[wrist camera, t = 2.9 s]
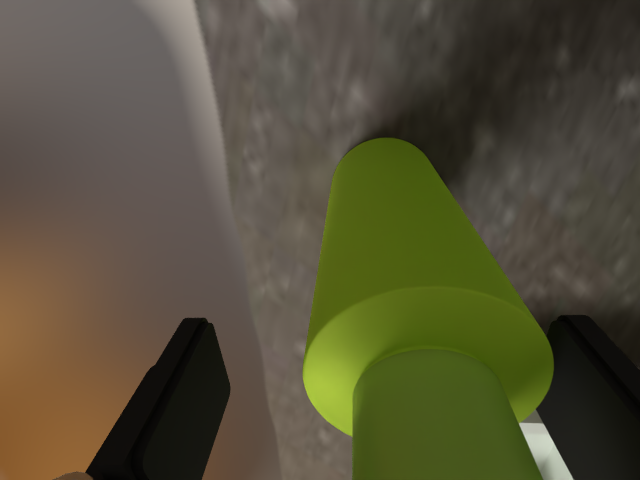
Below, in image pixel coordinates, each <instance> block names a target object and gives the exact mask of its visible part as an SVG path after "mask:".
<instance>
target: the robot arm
mask: <svg viewBox="0 0 640 480" xmlns="http://www.w3.org/2000/svg"><path fill="white" fill-rule="evenodd" d="M546 337H547V339H548V341H549V344H550V346H551V349H552V353H553V359H554V372H553V378H552V382H551V385H550V387H549V390H548V392H547V394H546V395H545V397H544V399H543V400H542V402H541V403H540V404H539V406H538V407H537V408H536V411H537V413H538V415H539V416H540V418H541V420H542V422H543V424H544V426H545V428H546V429H547V431H548V433H549V435H550V437H551V439H552V441H553V442H554V444H555V446H556V448H557V450H558V452H559V454H560V455H561V457H562V459H563V461H564V463H565V465H566V467H567V468H568V470H569V472H570V474H571V476H572V478H573V480H640V370H639V369H638V368H637V367H636V366H635V365H634V364H633V363H632V362H631V361H630V360H629V359H628V358H627V357H626V355H625V354H624V353H623V352H622V351H621V350H620V349H619V348H618V347H617V346H616V345H615V344H614V343H613V342H612V340H611V339H610V338H609V337H608V336H607V335H606V334H605V333H604V332H603V331H602V330H601V329H600V328H599V326H598V325H597V324H596V323H595V322H594V321H593V320H592V319H591V318H590V317H588V316H586V315H561V316H559V317H558V318H557V320H556V321H553V322H552V323H551V325H550V328H549V331H548V334H547V336H546ZM229 395H230V383H229V379H228V376H227V372H226V368H225V365H224V361H223V358H222V354H221V351H220V347H219V344H218V340H217V336H216V333H215V329H214V326H213V324H212V323H208V321H207V319H206V318H185V319H183V321H182V322H181V323H180V325H179V327H178V328H177V330H176V332H175V333H174V335H173V336H172V338H171V340H170V341H169V343H168V345H167V346H166V348H165V350H164V351H163V353H162V355H161V356H160V358H159V360H158V361H157V363H156V364H155V365H154V366H153V367H151V368H150V369H149V371H148V372H147V373H146V375H145V377H144V378H143V380H142V381H141V383H140V385H139V386H138V388H137V389H136V391H135V393H134V394H133V396H132V397H131V399H130V401H129V402H128V404H127V406H126V407H125V409H124V410H123V412H122V414H121V415H120V417H119V418H118V420H117V422H116V423H115V425H114V427H113V428H112V430H111V431H110V433H109V435H108V436H107V438H106V440H105V441H104V443H103V444H102V446H101V448H100V449H99V451H98V452H97V454H96V456H95V457H94V459H93V461H92V462H91V464H90V466H89V467H88V469H87V470H86V472H85V473H82V472H73V473H68V474H65V475H62V476H60V477H58V478H56V479H53V480H202V477H203V474H204V471H205V468H206V465H207V462H208V459H209V456H210V453H211V450H212V447H213V444H214V441H215V438H216V435H217V432H218V429H219V426H220V423H221V420H222V417H223V414H224V411H225V408H226V405H227V402H228V399H229Z"/></svg>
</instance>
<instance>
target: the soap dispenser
mask: <svg viewBox="0 0 640 480" xmlns="http://www.w3.org/2000/svg"><path fill="white" fill-rule="evenodd" d="M553 372H554V359H553V353H552V349H551V346H550V344H549V341H548V339H547V337H546V336H545V334H544V332H543V331H542V329H541V328H540V326H539V325H538V323H537V322H536V320H535V319H534V317H533V316H532V314H531V313H530V311H529V310H528V308H527V307H526V305H525V304H524V302H523V301H522V299H521V298H520V296H519V295H518V293H517V292H516V290H515V289H514V287H513V286H512V284H511V283H510V281H509V280H508V278H507V277H506V275H505V274H504V272H503V271H502V269H501V268H500V266H499V265H498V263H497V262H496V260H495V259H494V257H493V256H492V254H491V253H490V251H489V250H488V248H487V247H486V245H485V244H484V242H483V241H482V239H481V238H480V236H479V235H478V233H477V232H476V230H475V229H474V227H473V226H472V224H471V223H470V221H469V220H468V218H467V217H466V215H465V214H464V212H463V211H462V209H461V208H460V206H459V205H458V203H457V202H456V200H455V199H454V197H453V196H452V194H451V193H450V191H449V190H448V188H447V187H446V185H445V184H444V182H443V181H442V179H441V178H440V176H439V175H438V173H437V172H436V170H435V169H434V167H433V166H432V164H431V163H430V161H429V160H428V158H427V157H426V156H425V154H424V153H423V152H422V151H421V150H420V149H418V148H417V147H416V146H414V145H412V144H411V143H409V142H406V141H404V140H400V139H396V138H377V139H372V140H369V141H366V142H363V143H361V144H359V145H358V146H356V147H354V148H353V149H352V150H350V151H349V152H348V153H347V154H346V155H345V156H344V157H343V158H342V160H341V161H340V163H339V164H338V166H337V168H336V170H335V172H334V175H333V179H332V185H331V191H330V197H329V204H328V210H327V216H326V222H325V229H324V235H323V241H322V248H321V254H320V260H319V267H318V273H317V279H316V285H315V292H314V298H313V304H312V311H311V317H310V323H309V330H308V336H307V342H306V348H305V355H304V361H303V381H304V386H305V389H306V392H307V395H308V397H309V399H310V401H311V402H312V404H313V405H314V407H315V408H316V409H317V411H318V412H319V413H320V414H321V415H322V416H323V417H324V418H325V419H326V420H327V421H328V422H329V423H331V424H332V425H333V426H335V427H336V428H338V429H339V430H341V431H342V432H344V433H346V434H348V435H350V436H352V480H543V477H542V475H541V473H540V471H539V468H538V466H537V464H536V461H535V459H534V457H533V455H532V452H531V450H530V448H529V446H528V443H527V441H526V439H525V436H524V434H523V432H522V430H521V427H520V425H519V423H521V422H522V421H523V420H524V419H526V418H527V417H528V416H529V415H530V414H531V413H532V412H533V411H534V410H535V409H536V408H537V407H538V406H539V404H540V403H541V402H542V400H543V399H544V397H545V395H546V394H547V392H548V390H549V387H550V385H551V382H552V378H553Z"/></svg>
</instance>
